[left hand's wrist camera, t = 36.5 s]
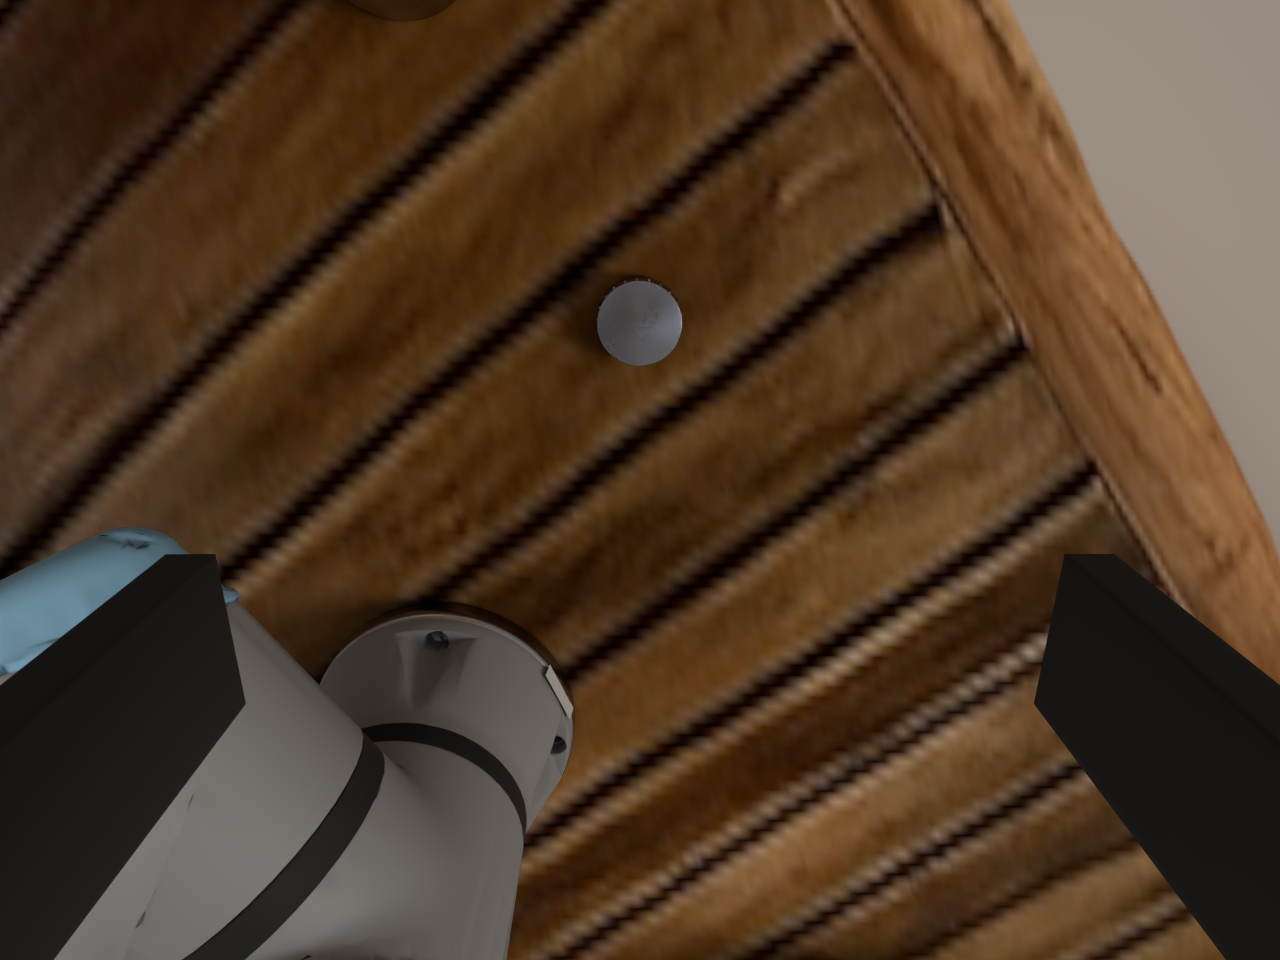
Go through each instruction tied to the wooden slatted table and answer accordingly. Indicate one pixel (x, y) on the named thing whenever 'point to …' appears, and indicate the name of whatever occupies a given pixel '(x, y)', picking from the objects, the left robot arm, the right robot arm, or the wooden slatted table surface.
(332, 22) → the wooden slatted table surface
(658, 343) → the cap
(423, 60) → the wooden slatted table surface
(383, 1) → the bottle
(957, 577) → the wooden slatted table surface
